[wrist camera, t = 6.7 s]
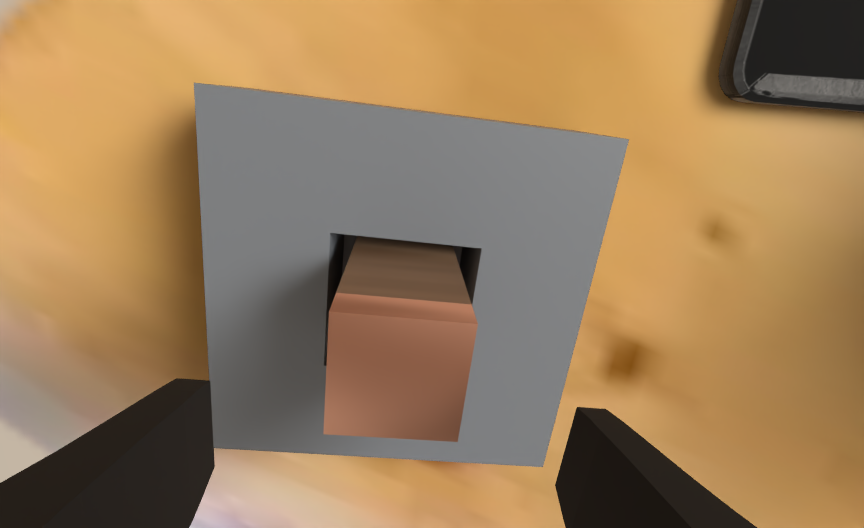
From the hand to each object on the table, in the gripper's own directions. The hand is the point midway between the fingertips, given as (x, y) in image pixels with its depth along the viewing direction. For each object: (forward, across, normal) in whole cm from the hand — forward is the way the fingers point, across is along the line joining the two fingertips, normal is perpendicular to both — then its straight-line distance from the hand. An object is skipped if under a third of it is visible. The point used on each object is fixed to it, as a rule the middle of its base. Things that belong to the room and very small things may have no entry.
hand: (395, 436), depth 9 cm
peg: (+9, 0, 0) cm, 9 cm away
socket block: (+10, 0, 0) cm, 10 cm away
